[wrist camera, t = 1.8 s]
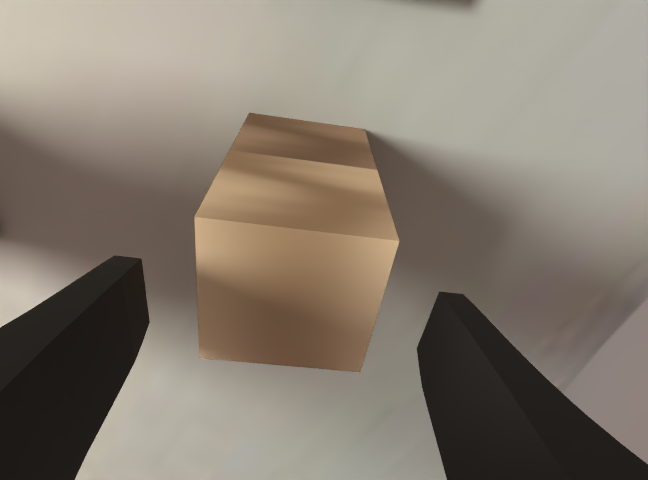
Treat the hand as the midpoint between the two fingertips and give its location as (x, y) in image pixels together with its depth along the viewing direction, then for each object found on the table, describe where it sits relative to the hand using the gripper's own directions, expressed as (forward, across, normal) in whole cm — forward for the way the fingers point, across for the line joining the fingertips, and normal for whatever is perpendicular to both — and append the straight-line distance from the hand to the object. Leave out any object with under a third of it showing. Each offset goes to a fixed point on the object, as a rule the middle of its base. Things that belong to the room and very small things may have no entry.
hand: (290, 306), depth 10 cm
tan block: (+8, 0, 0) cm, 8 cm away
